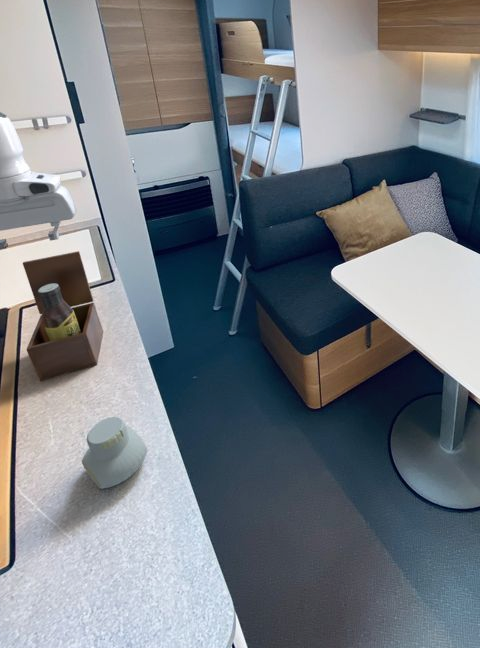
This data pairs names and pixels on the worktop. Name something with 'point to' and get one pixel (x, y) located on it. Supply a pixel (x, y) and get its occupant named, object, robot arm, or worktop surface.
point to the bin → (67, 346)
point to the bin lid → (59, 278)
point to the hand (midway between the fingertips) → (29, 243)
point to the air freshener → (113, 452)
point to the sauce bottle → (57, 314)
